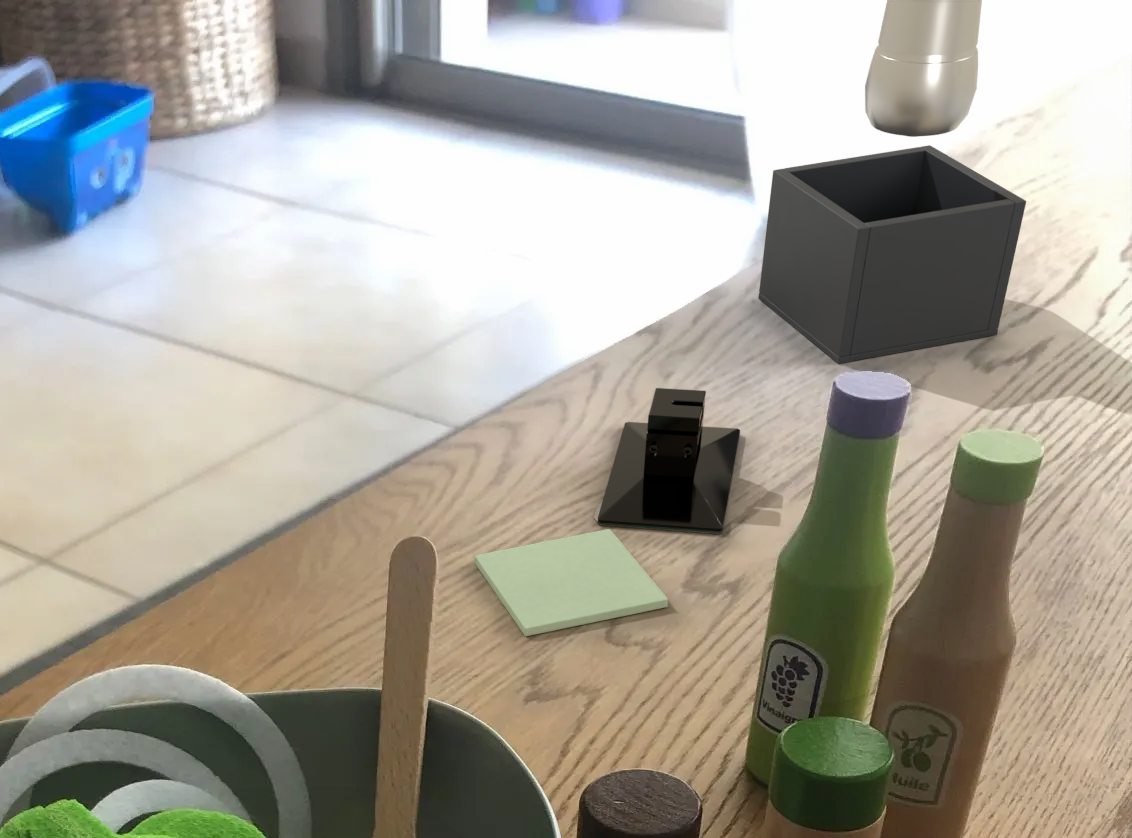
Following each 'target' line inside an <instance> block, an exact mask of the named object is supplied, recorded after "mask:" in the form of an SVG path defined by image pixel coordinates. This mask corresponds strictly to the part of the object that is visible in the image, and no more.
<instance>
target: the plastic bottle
mask: <svg viewBox="0 0 1132 838" xmlns="http://www.w3.org/2000/svg"><path fill="white" fill-rule="evenodd" d="M982 3H983V0H886V4H885V9H884V12H883V17H882V18H883V19H882V22H881V26H880V32H879V36H878V41H877V43H878V44H877V46H876V47H875V49H874V52H873V55H872V58H871V61H870V64H869V68H868V72H867V77H866V80H865V84H864V110H865V114H866V116H867V119H868V121H869V123H870V125H871V127H872V128H874V129H876V130H877V131H880V132H883V133H886V134H891V135H897V136H903V137H904V136H905V137H909V138H916V137H917V138H919V137H929V136H930V137H931V136H938V135H943V134H947V133H951V132H953V131H955V130H956V129H957V128H959V127H960V125H961V124H962V123H963V121H964V120H965V119H966V118H967V117H968V115H969V113H970V109H971V108H972V104H973V100H974V97H975V94H976V92H977V88H978V75H979V74H978V73H979V50H978V48H977V46H978V42H979V33H980V24H981V23H980V22H981V12H982Z"/></svg>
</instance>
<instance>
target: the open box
mask: <svg viewBox="0 0 1132 838" xmlns="http://www.w3.org/2000/svg"><path fill="white" fill-rule="evenodd" d="M769 195H770V196H769V204H768V213H767V222H766V230H765V236H764V237H765V238H764V247H763V256H762V262H761V263H762V265H761V273H760V274H761V275H760V280H759V281H760V282H759V289H758V290H759V291H758V296H757V298H758V300H760V301H761V302H762V303H763V304H764V305H766V306H767V307H768V308H769V309H771V310H772V311H773V312H774V313H776V314H777V315H778V316H779V317H780V318H782V319H783V321H785V322H787V324H789V325H790V326H792V327H793V328H794V329H795V330H796V331H797V332H799V333H800V334H802V336H804V337H805V338H806V339H807V340H809V341H810V342H811V343H812V344H813V345H815V346H816V348H819V350H821V351H822V352H824V354H826V355H827V356H828V357H829V358H830V359H832V360H833V361H834V362H836V364H844V363H849V362H854V361H860V360H865V359H871V358H876V357H877V358H878V357H881V356H889V355H893V354H898V353H905V352H909V351H915V350H920V349H925V348H931V347H937V346H943V345H947V344H954V343H960V342H965V341H969V340H975V339H980V338H987V337H991V336H997V335H998V332H999V327H1000V323H1001V319H1002V313H1003V309H1004V305H1005V300H1006V295H1007V291H1008V287H1009V282H1010V277H1011V274H1012V268H1013V263H1014V258H1015V254H1016V250H1017V245H1018V241H1019V237H1020V232H1021V228H1022V223H1023V218H1024V214H1025V209H1026V205H1027V200H1026V199H1024V198H1022V197H1020V196H1019V195H1017V194H1016V193H1013V192H1012V191H1010V190H1009V189H1007V188H1005V187H1003V186H1001V185H1000V184H998V183H997V182H994V181H993V180H990V179H989V178H988V177H986V176H984V175H982V174H981V173H979V172H978V171H975V170H974V169H972V168H971V167H968V166H967V165H965V164H963V163H962V162H959V160H956V159H955V158H953V157H952V156H949V155H948V154H946V153H944V152H942V151H941V150H939V149H937V148H936V147H933V146H932V145H922V146H915V147H910V148H903V149H897V150H891V151H886V152H878V153H872V154H866V155H859V156H854V157H847V158H841V159H835V160H828V161H822V162H815V163H809V164H803V165H796V166H790V167H784V168H779V169H773V170H772V177H771V186H770V194H769Z"/></svg>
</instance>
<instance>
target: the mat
mask: <svg viewBox="0 0 1132 838" xmlns="http://www.w3.org/2000/svg"><path fill="white" fill-rule="evenodd" d="M474 564H475V565H476V567H477V568H478V570H479V571H480V573H481V575H482V576H483V577H484V578H485V580H486V582H487V583H488V584H489V586H490V587H491V589H492V591H493V592H494V593H495V595H496V596H497V597H498V599H499V601H500V602H501V603H502V605H503V606H504V608H505V609H506V611H507V612H508V614H509V615H510V616H511V618H512V619H513V622H515V624H516V626H517V627H518V628H519V630H520V631H521V632H522V634H523V635H524V637H530V636H534V635H540V634H544V633H549V632H553V631H559V630H564V629H569V628H573V627H578V626H583V625H587V624H592V623H597V622H602V621H606V620H607V621H608V620H611V619H612V620H613V619H616V618H621V617H626V616H631V615H636V614H641V613H646V612H650V611H654V610H655V611H656V610H661V609H664V608H668V607H669V598H668V597H667V595H666V594H665V593H664V592H663V591H662V590H661V589H660V587H659V586H658V585H657V584H656V583H655V581H654V580H653V578H651V576H650V575H649V573H647V572H646V571H645V569H644V568H643V567H642V566H641V564H640V563H639V562H638V560H637V559H635V557H634V556H633V555H632V553H631V552H630V551H629V550H628V548H626V546H625V545H624V544H623V543H622V542H621V540H620V539H619V538H618V536H616V534H615V533H614V532H613V530H611V528H606V529H602V530H597V531H591V532H586V533H580V534H576V535H571V536H567V537H561V538H555V539H551V540H545V541H540V542H536V543H530V544H526V545H520V546H516V547H509V548H505V549H500V550H495V551H490V552H489V551H488V552H485V553H480V554H475V555H474Z"/></svg>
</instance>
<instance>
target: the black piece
mask: <svg viewBox="0 0 1132 838" xmlns="http://www.w3.org/2000/svg"><path fill="white" fill-rule="evenodd" d="M706 393H707V392H706V390H699V389H684V388H683V389H680V388H666V387H665V388H664V387H656V388H655V389H654V393H653V397H652V399H651V400H652V401H651V404H650V408H649V412H648V416H647V422H639V421H636V422H635V421H627V422H624V425H623V428H622V432H621V435H620V439H619V443H618V446H617V449H616V453H615V456H614V460H613V463H612V467H611V469H610V473H609V477H608V481H607V484H606V487H605V491H604V495H603V498H602V501H601V502H599V503H597V505H596V509H595V513H594V516H593V519H594V521H596V523H597V525H599V526H606V527H619V528H620V527H621V528H633V529H648V530H661V531H671V532H672V531H673V532H674V531H675V532H688V533H702V534H715V535H720V534H723V532H724V526H725V521H726V514H727V509H728V504H729V497H730V492H731V487H732V482H733V481H732V480H733V477H734V476H733V475H734V470H735V464H736V458H737V452H738V448H739V443H740V442H739V441H740V436H741V429H740V428H732V427H720V426H719V427H718V426H704V419H705V409H706V408H705V407H706V405H705V404H706V395H707V394H706Z"/></svg>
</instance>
